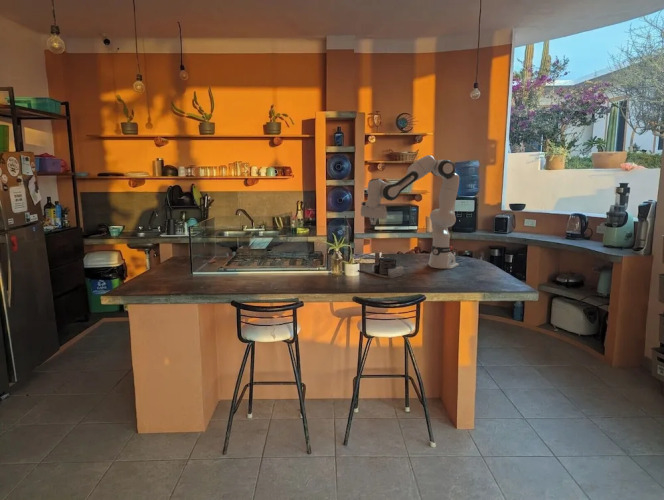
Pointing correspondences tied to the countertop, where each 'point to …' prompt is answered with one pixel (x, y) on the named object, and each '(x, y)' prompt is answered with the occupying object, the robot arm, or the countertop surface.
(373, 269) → the sliding jaw
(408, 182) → the robot arm
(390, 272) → the fixed jaw
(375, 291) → the countertop surface
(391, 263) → the small box
